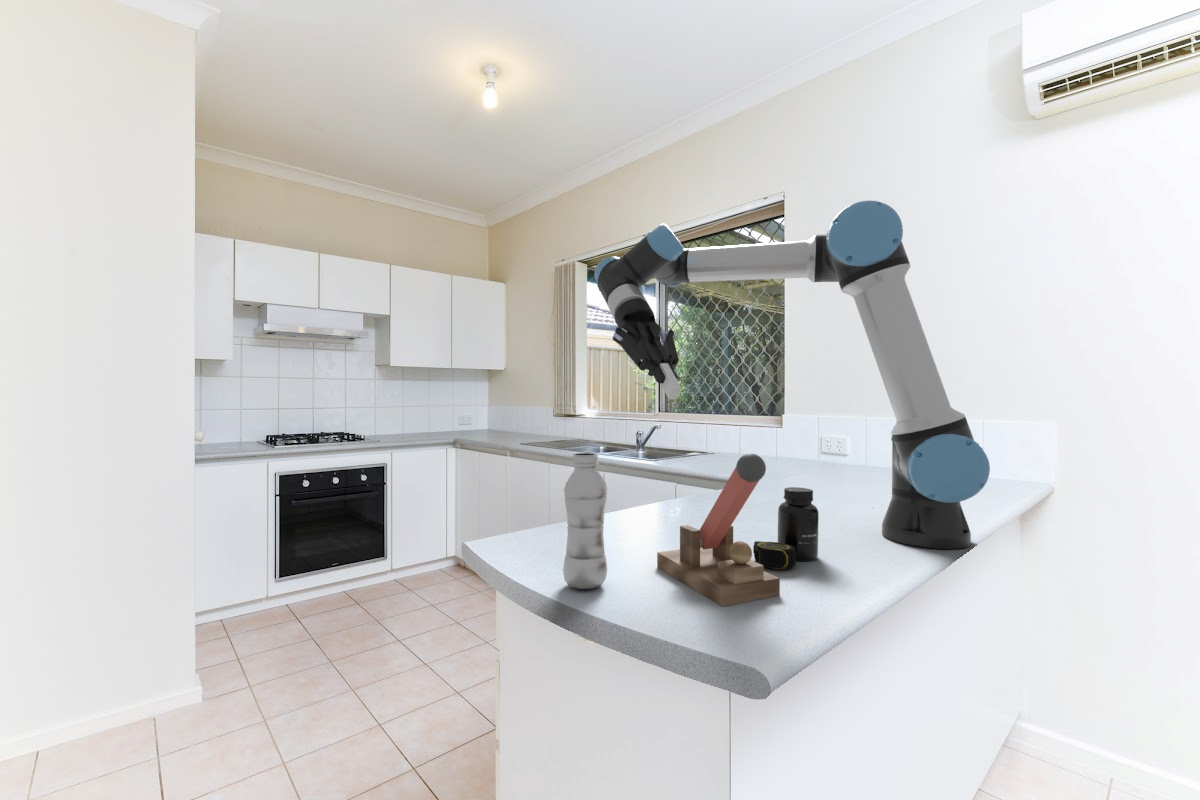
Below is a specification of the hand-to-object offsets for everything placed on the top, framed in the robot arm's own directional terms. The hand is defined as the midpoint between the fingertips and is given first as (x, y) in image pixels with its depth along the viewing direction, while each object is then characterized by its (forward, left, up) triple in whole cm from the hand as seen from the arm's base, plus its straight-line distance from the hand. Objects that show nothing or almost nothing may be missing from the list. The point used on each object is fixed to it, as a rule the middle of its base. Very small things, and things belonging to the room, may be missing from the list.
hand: (675, 393), depth 95 cm
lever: (-4, +9, -23) cm, 25 cm away
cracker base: (-5, +11, -29) cm, 31 cm away
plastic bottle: (+15, +14, -29) cm, 36 cm away
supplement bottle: (-22, -2, -29) cm, 37 cm away
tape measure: (-16, +3, -29) cm, 34 cm away
